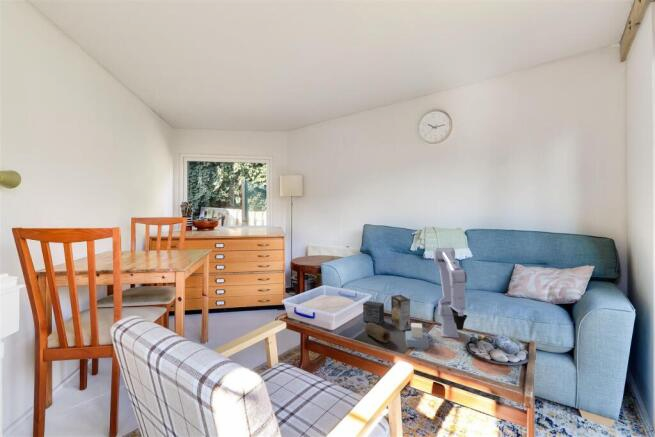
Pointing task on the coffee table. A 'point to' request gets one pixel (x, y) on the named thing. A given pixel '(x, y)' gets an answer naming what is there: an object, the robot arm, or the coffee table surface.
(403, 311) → the coffee box
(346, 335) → the coffee table surface
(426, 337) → the base block
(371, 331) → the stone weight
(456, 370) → the coffee table surface
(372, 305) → the small box
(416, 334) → the cube
